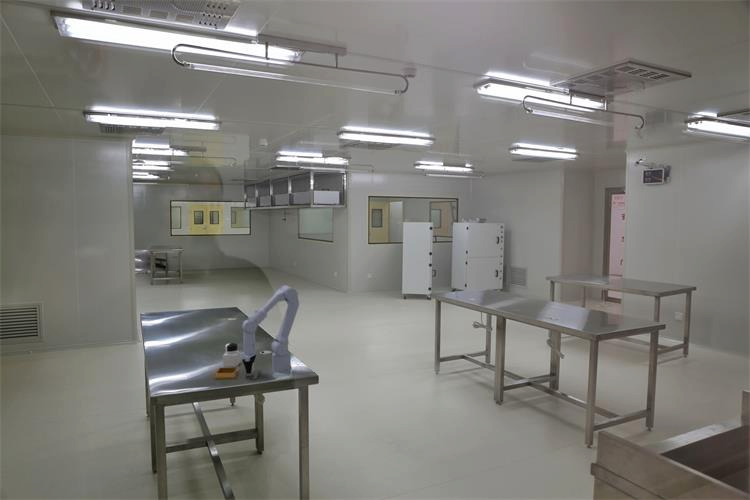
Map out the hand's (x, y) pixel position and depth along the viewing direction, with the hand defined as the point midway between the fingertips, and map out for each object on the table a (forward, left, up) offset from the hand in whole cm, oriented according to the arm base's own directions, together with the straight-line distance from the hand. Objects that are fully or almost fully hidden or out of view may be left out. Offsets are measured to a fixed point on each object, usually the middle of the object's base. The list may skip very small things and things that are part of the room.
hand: (249, 371), depth 239 cm
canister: (0, 0, -2) cm, 2 cm away
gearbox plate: (+6, 0, -3) cm, 7 cm away
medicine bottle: (+12, -18, -3) cm, 22 cm away
